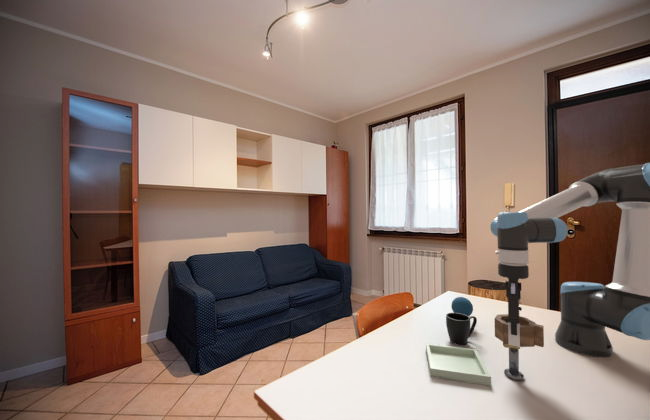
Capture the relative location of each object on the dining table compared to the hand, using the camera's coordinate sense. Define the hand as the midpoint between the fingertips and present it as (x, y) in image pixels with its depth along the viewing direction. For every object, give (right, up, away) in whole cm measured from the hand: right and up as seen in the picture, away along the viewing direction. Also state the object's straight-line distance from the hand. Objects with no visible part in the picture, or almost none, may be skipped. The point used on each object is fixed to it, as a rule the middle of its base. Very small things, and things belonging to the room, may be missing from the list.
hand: (514, 337), depth 81 cm
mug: (-4, -12, +22) cm, 25 cm away
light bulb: (+3, -12, +36) cm, 38 cm away
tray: (-15, -11, +5) cm, 20 cm away
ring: (0, 0, 0) cm, 0 cm away
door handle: (0, -11, 0) cm, 11 cm away
